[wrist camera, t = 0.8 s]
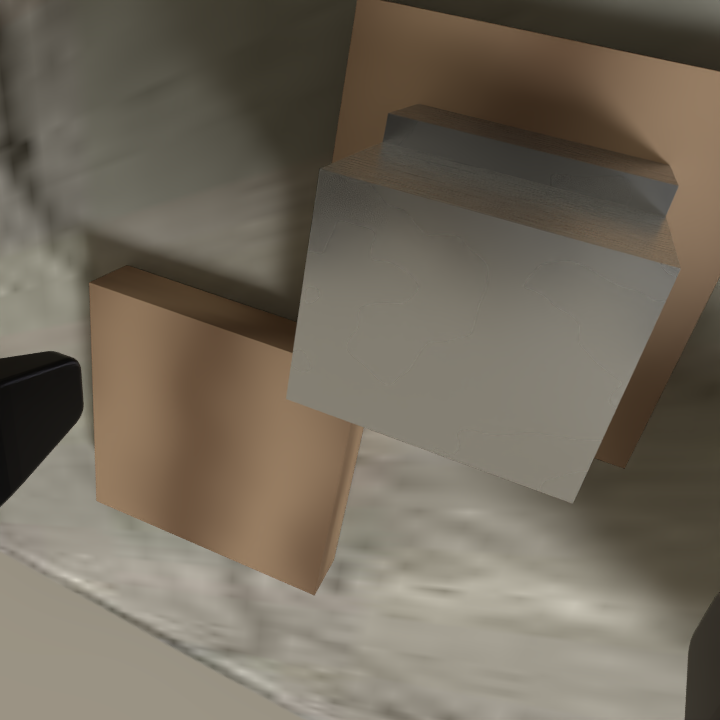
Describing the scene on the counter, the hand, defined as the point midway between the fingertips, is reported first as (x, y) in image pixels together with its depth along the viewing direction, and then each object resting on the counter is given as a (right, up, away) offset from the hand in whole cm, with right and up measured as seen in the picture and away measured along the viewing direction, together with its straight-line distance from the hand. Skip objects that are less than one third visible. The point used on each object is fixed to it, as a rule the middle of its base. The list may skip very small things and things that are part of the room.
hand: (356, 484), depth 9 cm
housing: (+4, +4, +8) cm, 10 cm away
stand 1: (-5, -1, +16) cm, 17 cm away
